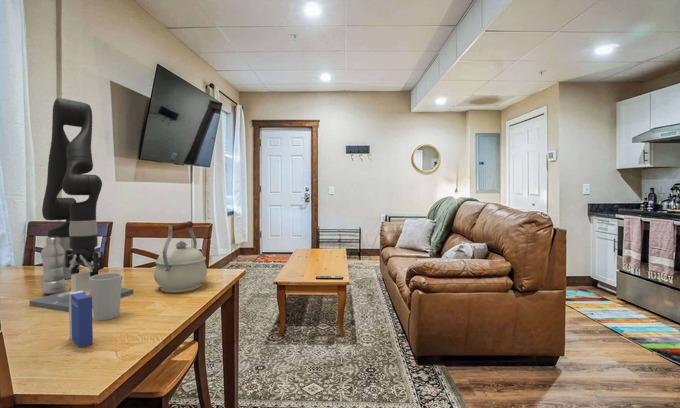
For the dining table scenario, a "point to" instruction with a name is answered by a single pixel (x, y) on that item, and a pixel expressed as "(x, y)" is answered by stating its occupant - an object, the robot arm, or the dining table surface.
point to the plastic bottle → (53, 267)
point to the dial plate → (64, 300)
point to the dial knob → (79, 283)
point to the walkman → (80, 318)
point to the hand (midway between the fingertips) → (84, 281)
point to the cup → (105, 295)
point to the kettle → (180, 264)
